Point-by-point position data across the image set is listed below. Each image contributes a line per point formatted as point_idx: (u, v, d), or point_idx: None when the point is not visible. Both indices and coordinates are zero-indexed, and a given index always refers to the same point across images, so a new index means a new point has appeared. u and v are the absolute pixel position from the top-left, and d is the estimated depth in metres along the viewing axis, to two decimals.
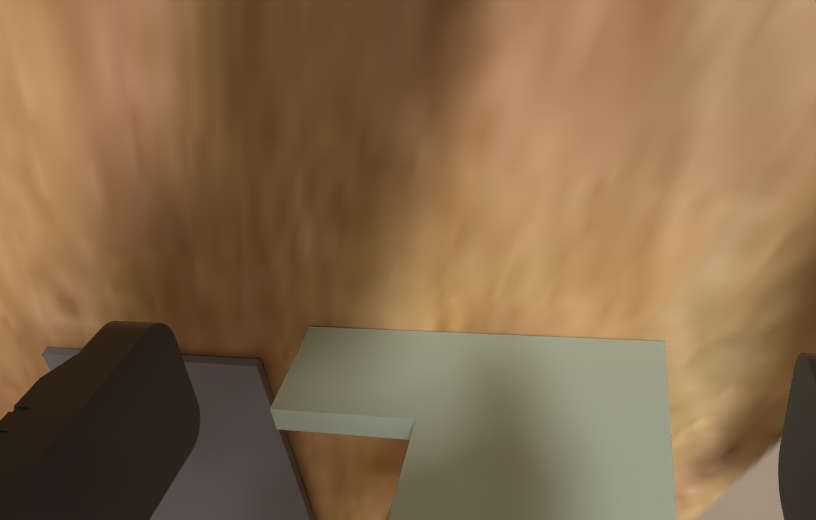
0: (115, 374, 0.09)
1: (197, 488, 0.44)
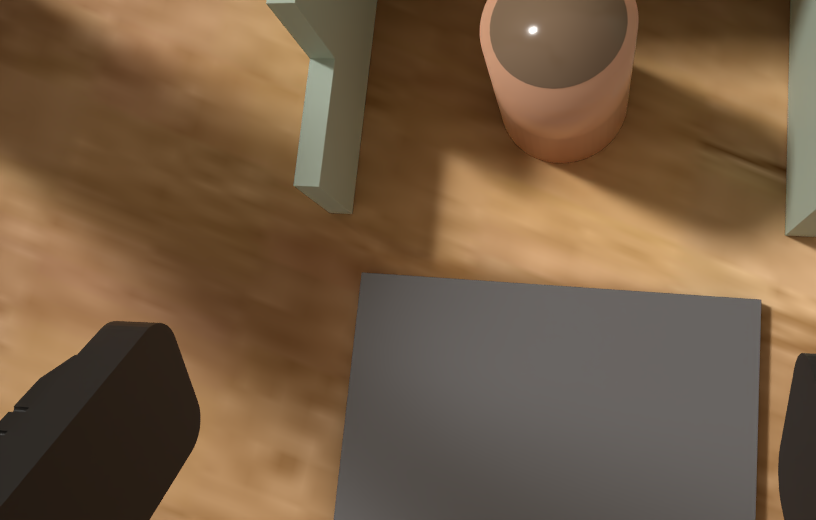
0: (115, 374, 0.09)
1: (562, 430, 0.34)
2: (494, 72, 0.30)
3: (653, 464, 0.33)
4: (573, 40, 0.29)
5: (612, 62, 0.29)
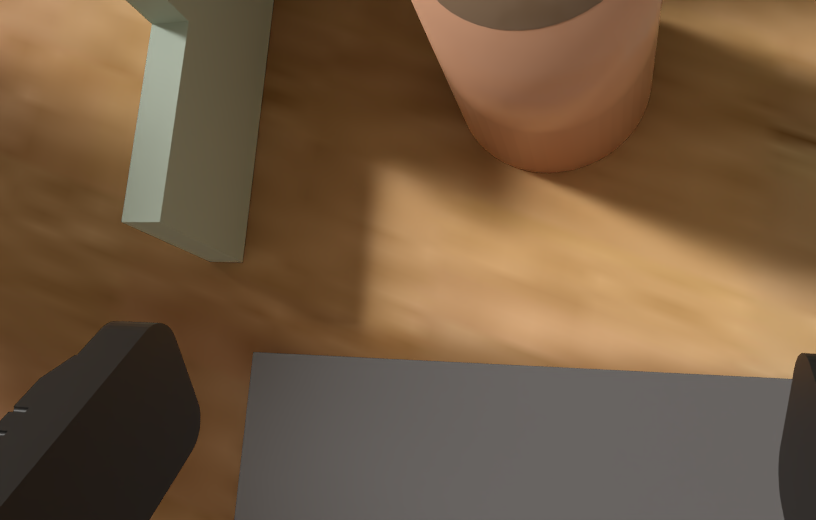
0: (115, 374, 0.09)
1: None
2: (421, 10, 0.17)
3: None
4: None
5: None
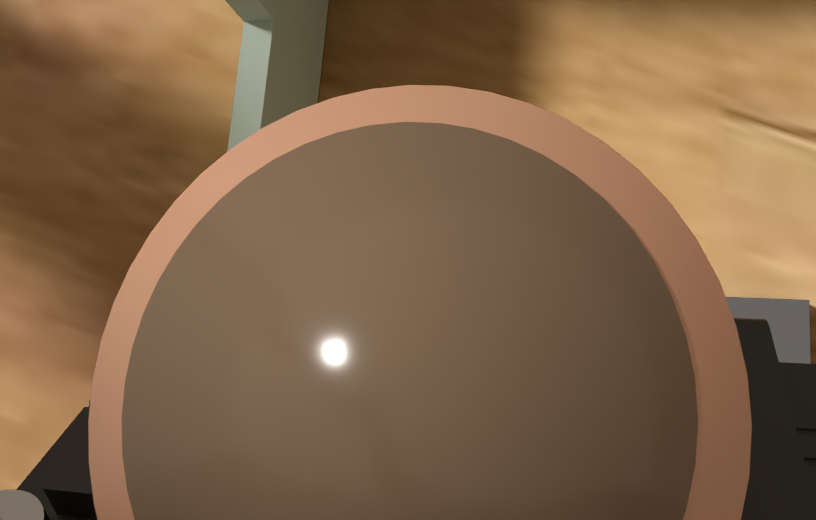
0: None
1: None
2: None
3: None
4: (449, 485, 0.06)
5: None
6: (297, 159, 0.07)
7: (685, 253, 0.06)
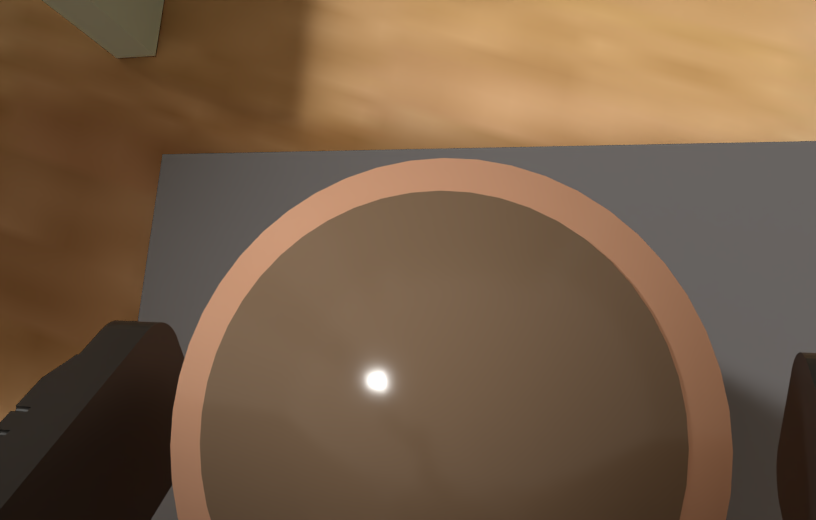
0: (117, 373, 0.09)
1: None
2: None
3: None
4: (482, 502, 0.08)
5: None
6: (347, 221, 0.09)
7: (678, 307, 0.08)
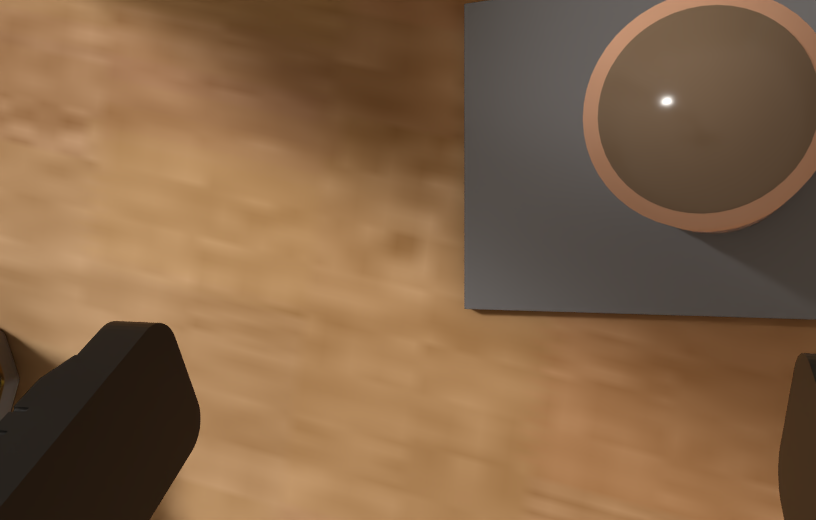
0: (115, 374, 0.09)
1: None
2: (611, 190, 0.20)
3: None
4: (730, 134, 0.19)
5: (798, 164, 0.19)
6: (657, 25, 0.20)
7: (815, 43, 0.18)
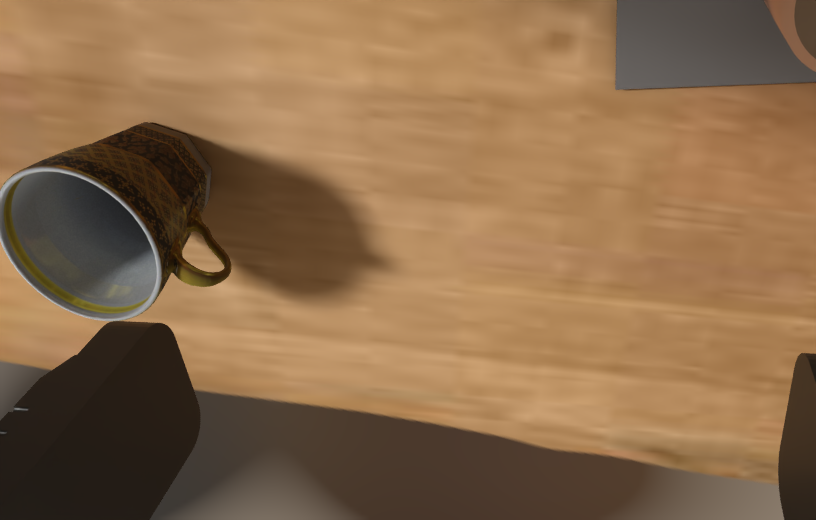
0: (115, 374, 0.09)
1: None
2: (797, 57, 0.30)
3: None
4: None
5: None
6: None
7: None
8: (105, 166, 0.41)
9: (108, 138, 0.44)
